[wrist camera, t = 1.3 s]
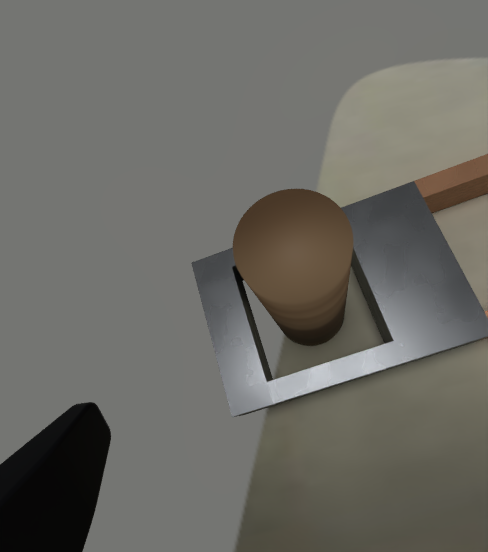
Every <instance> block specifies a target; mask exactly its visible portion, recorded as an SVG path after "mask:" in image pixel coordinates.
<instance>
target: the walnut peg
mask: <svg viewBox="0 0 488 552" xmlns="http://www.w3.org/2000/svg"><path fill="white" fill-rule="evenodd" d="M352 252H353V233H352V228H351V225H350V222H349V220H348V218H347V216H346V215H345V213H344V212H343V210H342V209H341V208H340V207H339V206H338V205H337V204H336V203H335V202H334V201H332V200H331V199H330V198H328V197H326V196H324V195H322V194H320V193H318V192H314V191H311V190H305V189H287V190H281V191H278V192H275V193H272V194H270V195H267V196H265V197H264V198H262V199H260V200H259V201H257V202H256V203H255V204H254V205H252V207H250V208H249V210H247V212H246V213H245V214H244V215H243V217H242V218H241V220H240V222H239V224H238V226H237V228H236V231H235V234H234V240H233V256H234V260H235V264H236V266H237V269H238V271H239V273H240V274H241V276H242V277H243V279H244V280H245V281H246V283H247V284H248V286H249V287H250V288H251V290H252V291H253V292H254V293H255V295H256V296H257V297H258V299H259V300H260V302H261V303H262V304H263V306H264V307H265V308H266V310H267V311H268V312H269V314H270V315H271V316H272V318H273V319H274V321H275V322H276V323H277V325H278V326H279V327H280V329H281V330H282V331H283V333H284V334H285V335H286V336H287V337H288V338H289V339H291V340H292V341H294V342H296V343H298V344H302V345H307V346H314V345H319V344H322V343H325V342H327V341H329V340H330V339H331V338H333V337H334V336H335V335H336V334H337V332H338V331H339V329H340V328H341V325H342V323H343V319H344V312H345V304H346V297H347V290H348V282H349V275H350V267H351V260H352Z"/></svg>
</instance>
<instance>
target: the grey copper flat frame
mask: <svg viewBox="0 0 488 552" xmlns="http://www.w3.org/2000/svg"><path fill="white" fill-rule="evenodd" d="M487 193H488V154H486V155H484V156H481V157H478V158H476V159H473V160H470V161H467V162H465V163H462V164H459V165H457V166H454V167H451V168H448V169H446V170H443V171H440V172H437V173H435V174H432V175H429V176H427V177H424V178H421V179H418V180H416V181H413V182H410V183H408V184H405V185H402V186H399V187H397V188H394V189H391V190H388V191H386V192H383V193H380V194H378V195H375V196H372V197H369V198H367V199H364V200H361V201H359V202H356V203H353V204H350V205H348V206H345V207H342V208H341V209H342V210H343V212H344V213H345V215H346V216H347V218H348V220H349V222H350V225H351V228H352V233H353V252H352V260H351V266H352V268H353V270H354V273H355V275H356V277H357V280H358V282H359V284H360V287H361V289H362V291H363V294H364V296H365V298H366V301H367V303H368V305H369V308H370V310H371V313H372V315H373V317H374V320H375V322H376V324H377V327H378V329H379V331H380V334H381V336H382V338H383V341H384V343H385V344H383V345H380V346H377V347H374V348H371V349H367V350H364V351H361V352H358V353H355V354H352V355H349V356H346V357H343V358H340V359H337V360H333V361H330V362H327V363H324V364H321V365H318V366H315V367H312V368H309V369H306V370H303V371H299V372H296V373H293V374H290V375H287V376H284V377H281V378H278V379H275V380H273V378H272V375H271V372H270V369H269V365H268V362H267V359H266V356H265V353H264V349H263V346H262V343H261V340H260V337H259V333H258V330H257V327H256V324H255V320H254V317H253V314H252V310H251V307H250V304H249V301H248V298H247V294H246V291H245V288H244V285H243V282H242V281H243V280H244V279H243V277H242V276H241V274H240V273H239V271H238V269H237V266H236V264H235V260H234V256H233V248H231V249H228V250H225V251H222V252H220V253H217V254H214V255H212V256H209V257H206V258H204V259H201V260H198V261H196V262H192V267H193V271H194V274H195V278H196V281H197V286H198V290H199V293H200V297H201V301H202V305H203V309H204V312H205V316H206V320H207V324H208V328H209V331H210V335H211V339H212V343H213V347H214V350H215V354H216V358H217V361H218V366H219V369H220V373H221V377H222V381H223V385H224V389H225V392H226V396H227V400H228V404H229V408H230V411H231V415H232V417H235V416H241V415H245V414H248V413H251V412H255V411H258V410H261V409H264V408H267V407H271V406H274V405H277V404H280V403H283V402H286V401H290V400H293V399H296V398H299V397H302V396H305V395H308V394H312V393H315V392H318V391H321V390H324V389H327V388H331V387H334V386H337V385H340V384H343V383H346V382H350V381H353V380H356V379H359V378H362V377H365V376H369V375H372V374H375V373H378V372H381V371H384V370H388V369H391V368H394V367H397V366H400V365H403V364H407V363H410V362H413V361H416V360H419V359H422V358H426V357H429V356H432V355H435V354H438V353H441V352H445V351H448V350H451V349H454V348H457V347H460V346H464V345H467V344H470V343H473V342H476V341H479V340H483V339H486V338H488V311H485V312H484V310H483V309H482V307H481V305H480V303H479V301H478V299H477V297H476V296H475V294H474V292H473V290H472V288H471V286H470V284H469V282H468V281H467V279H466V277H465V275H464V273H463V271H462V269H461V268H460V266H459V264H458V262H457V260H456V258H455V256H454V254H453V253H452V251H451V249H450V247H449V245H448V243H447V241H446V240H445V238H444V236H443V234H442V232H441V230H440V228H439V226H438V225H437V223H436V221H435V219H434V217H433V215H432V213H434V212H436V211H439V210H442V209H445V208H448V207H450V206H453V205H456V204H459V203H462V202H464V201H467V200H470V199H473V198H476V197H478V196H481V195H484V194H487Z"/></svg>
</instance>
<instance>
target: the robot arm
mask: <svg viewBox="0 0 488 552" xmlns="http://www.w3.org/2000/svg"><path fill="white" fill-rule="evenodd" d="M110 440H111V432H110V429H109V426H108V424H107V423H106V421H105V419H104V417H103V415H102V413H101V411H100V410H99V408H98V406H97V405H96V404H95V403H92V402H89V403H81V404H76V405H74V406H72V407H71V408H70V409H68V410H67V411H66V412H65V413H63V414H62V415H61V416H60V417H58V418H57V419H56V420H55V421H53V422H52V423H51V424H50V425H48V426H47V427H46V428H45V429H44V430H42V431H41V432H40V433H39V434H37V435H36V436H35V437H34V438H33V439H31V440H30V441H29V442H27V443H26V444H25V445H24V446H23V447H21V448H20V449H19V450H18V451H16V452H15V453H14V454H13V455H11V456H10V457H9V458H8V459H7V460H5V461H4V462H3V463H2V464H0V552H82V551H83V548H84V545H85V542H86V539H87V536H88V532H89V529H90V526H91V523H92V519H93V516H94V512H95V508H96V504H97V500H98V495H99V491H100V486H101V482H102V477H103V472H104V468H105V464H106V459H107V455H108V450H109V446H110Z"/></svg>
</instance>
